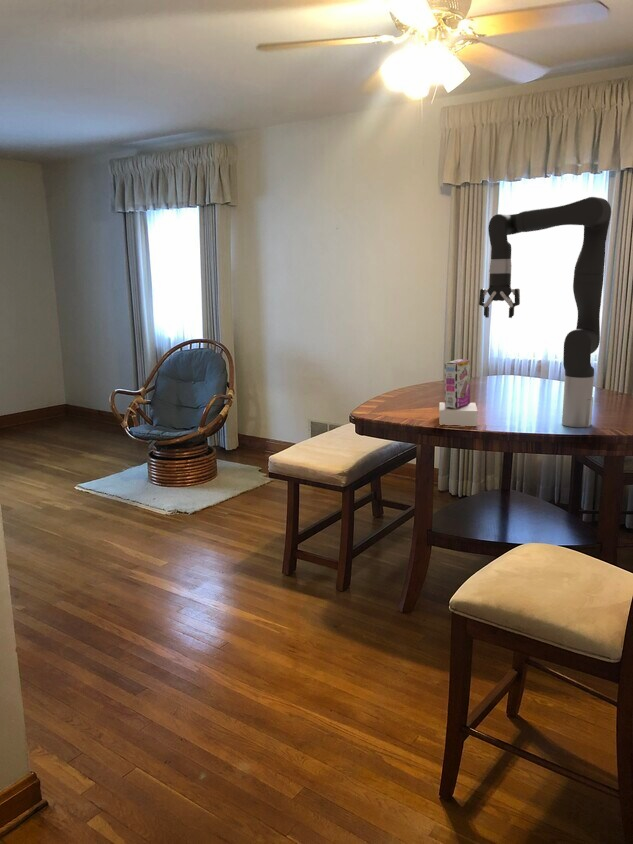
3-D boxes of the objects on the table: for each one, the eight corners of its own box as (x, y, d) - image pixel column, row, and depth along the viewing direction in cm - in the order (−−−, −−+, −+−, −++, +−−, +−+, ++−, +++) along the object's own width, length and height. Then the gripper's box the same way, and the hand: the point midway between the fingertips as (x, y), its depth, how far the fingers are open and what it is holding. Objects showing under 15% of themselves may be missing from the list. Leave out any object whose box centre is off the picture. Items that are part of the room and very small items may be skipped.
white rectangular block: (474, 418, 243) (475, 402, 242) (477, 427, 229) (477, 411, 227) (439, 418, 246) (439, 402, 244) (439, 427, 231) (439, 410, 230)
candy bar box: (457, 409, 230) (456, 362, 226) (444, 408, 233) (443, 362, 230) (471, 404, 238) (470, 359, 235) (458, 403, 241) (457, 358, 238)
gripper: (522, 271, 236) (520, 317, 240) (483, 272, 243) (482, 316, 247) (517, 272, 230) (515, 318, 233) (477, 272, 237) (476, 318, 240)
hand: (498, 317), depth 240 cm, fingers open, 8 cm apart
